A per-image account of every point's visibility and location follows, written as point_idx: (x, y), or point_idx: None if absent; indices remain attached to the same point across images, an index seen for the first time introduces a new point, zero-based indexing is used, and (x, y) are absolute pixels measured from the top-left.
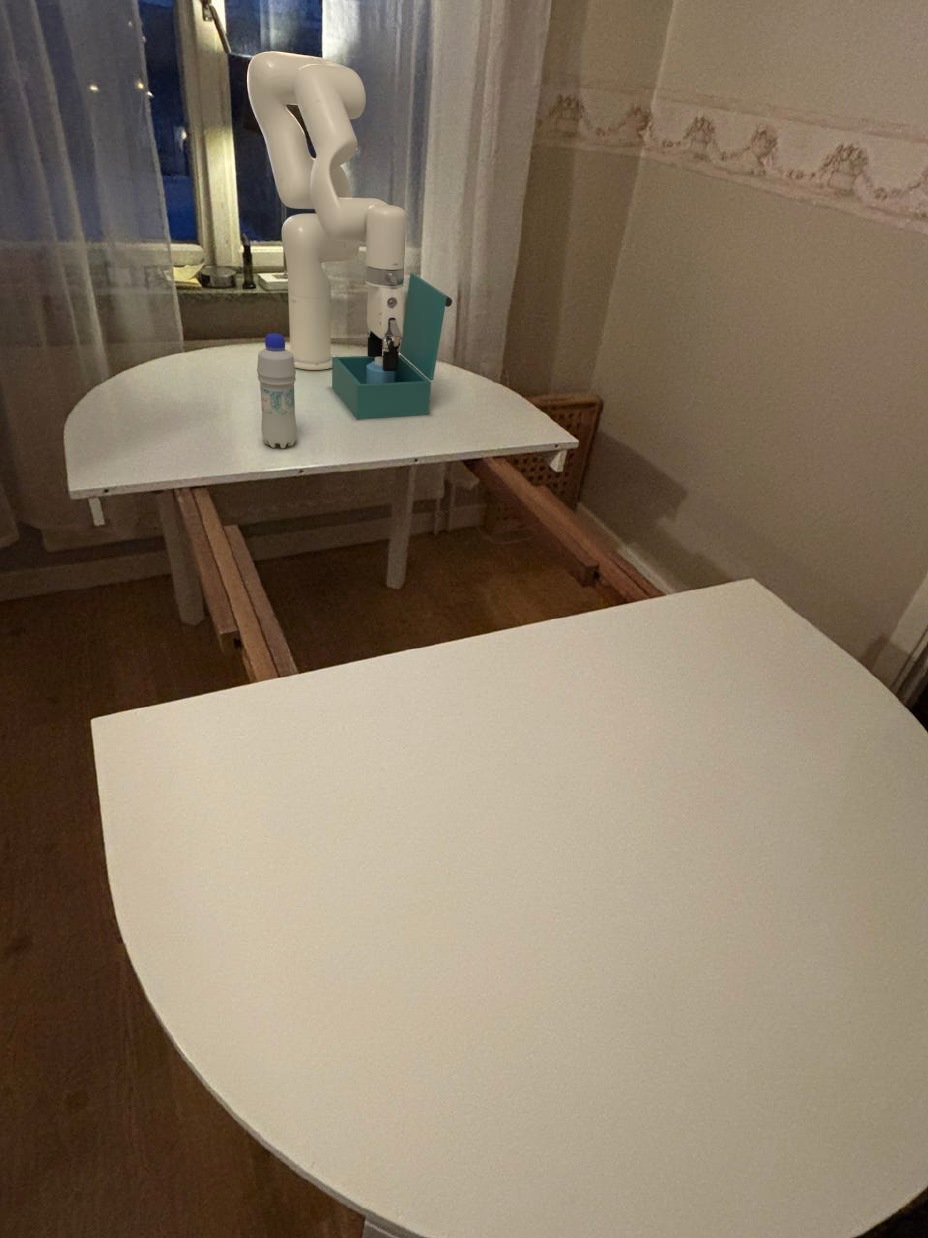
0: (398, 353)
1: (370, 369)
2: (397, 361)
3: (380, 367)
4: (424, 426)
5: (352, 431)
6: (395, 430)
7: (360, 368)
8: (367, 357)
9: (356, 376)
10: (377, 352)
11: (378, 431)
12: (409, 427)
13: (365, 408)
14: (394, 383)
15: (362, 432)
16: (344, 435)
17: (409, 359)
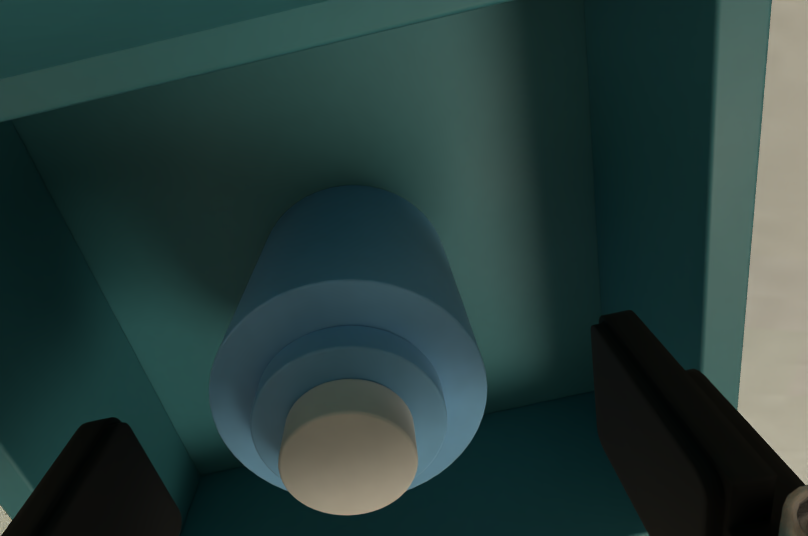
0: (748, 445)
1: (429, 478)
2: (684, 375)
3: (444, 428)
4: (797, 14)
5: (755, 407)
6: (802, 214)
7: None
8: (20, 469)
9: (134, 424)
10: (130, 489)
11: (788, 301)
12: (784, 124)
13: None
14: (730, 307)
15: (778, 370)
16: (787, 437)
17: (31, 69)
